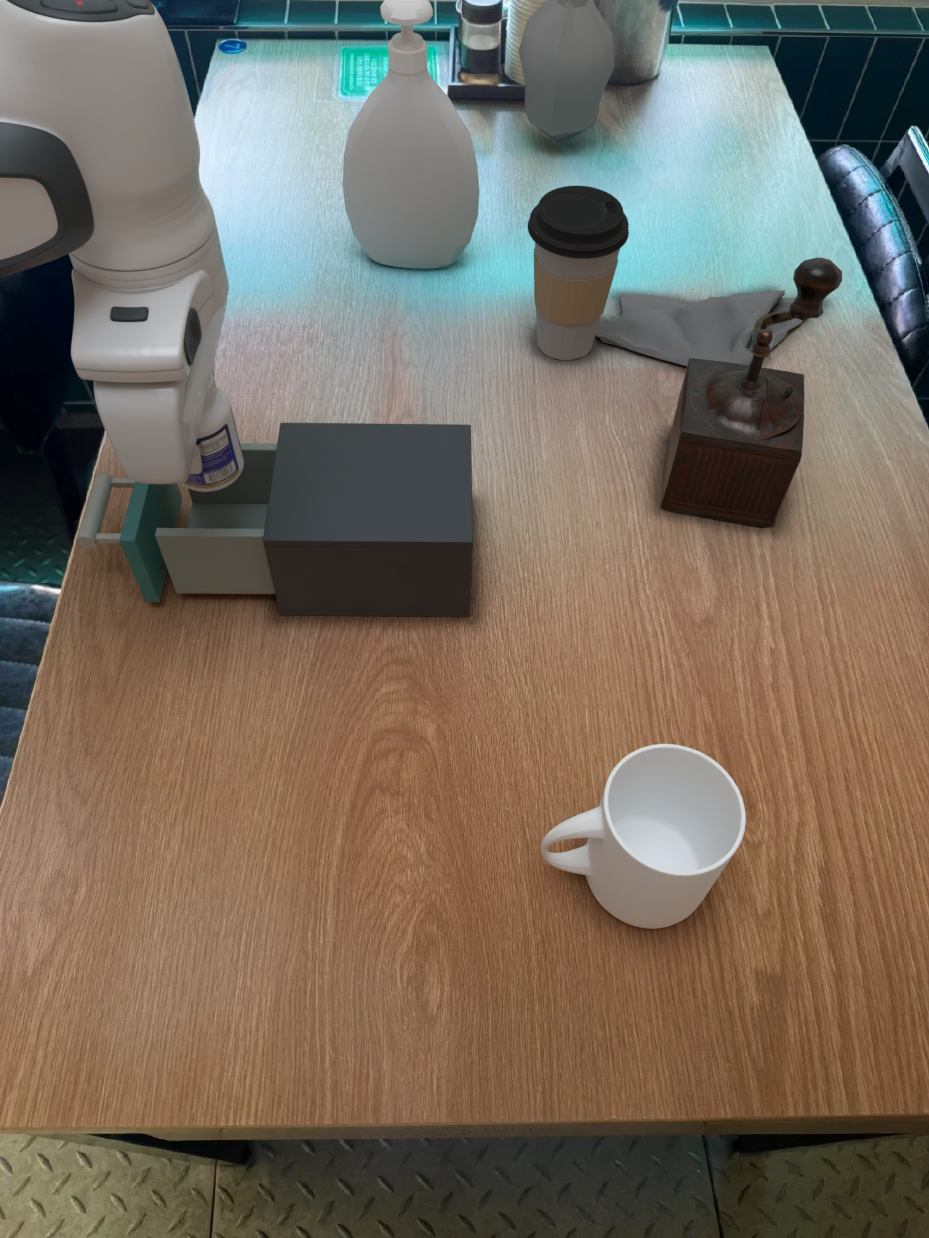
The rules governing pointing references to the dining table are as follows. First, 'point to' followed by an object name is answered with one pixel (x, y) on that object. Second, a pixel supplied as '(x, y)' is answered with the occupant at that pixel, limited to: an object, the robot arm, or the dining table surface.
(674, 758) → the mug
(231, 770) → the dining table surface
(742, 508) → the manual coffee grinder
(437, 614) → the drawer cabinet
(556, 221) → the coffee cup
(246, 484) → the teal drawer
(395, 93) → the soap bottle
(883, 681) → the dining table surface
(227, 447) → the pill bottle
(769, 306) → the cloth
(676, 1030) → the dining table surface
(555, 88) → the bottle
